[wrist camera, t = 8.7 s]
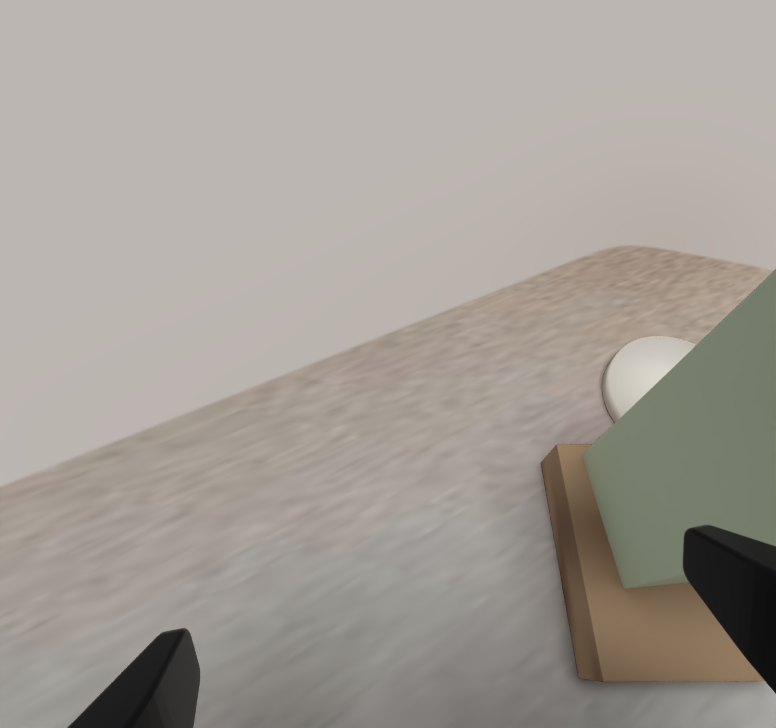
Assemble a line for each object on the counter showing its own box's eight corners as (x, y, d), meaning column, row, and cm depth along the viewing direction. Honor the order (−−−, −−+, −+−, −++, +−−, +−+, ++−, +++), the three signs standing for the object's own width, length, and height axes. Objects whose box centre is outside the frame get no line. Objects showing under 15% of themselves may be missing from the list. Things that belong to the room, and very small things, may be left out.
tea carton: (757, 575, 19) (1255, 481, 8) (623, 588, 19) (956, 509, 8) (699, 445, 22) (1011, 246, 11) (581, 454, 21) (784, 260, 11)
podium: (762, 676, 19) (810, 680, 17) (578, 677, 19) (603, 681, 17) (689, 462, 24) (720, 444, 22) (541, 462, 24) (556, 444, 22)
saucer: (758, 462, 24) (772, 455, 23) (620, 462, 24) (629, 455, 23) (709, 346, 27) (720, 336, 27) (589, 345, 27) (596, 335, 26)
